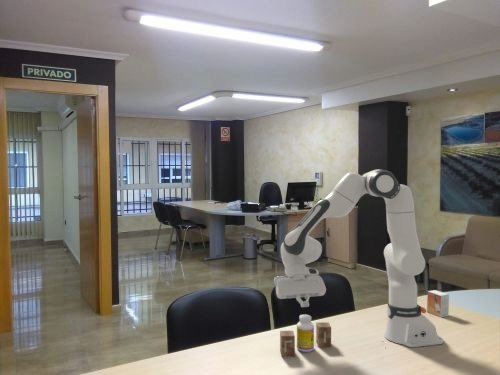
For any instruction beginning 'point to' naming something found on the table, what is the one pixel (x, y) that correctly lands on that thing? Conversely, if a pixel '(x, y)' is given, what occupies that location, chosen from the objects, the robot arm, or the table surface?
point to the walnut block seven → (287, 344)
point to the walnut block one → (323, 334)
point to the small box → (438, 303)
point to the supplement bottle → (305, 334)
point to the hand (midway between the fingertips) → (305, 306)
